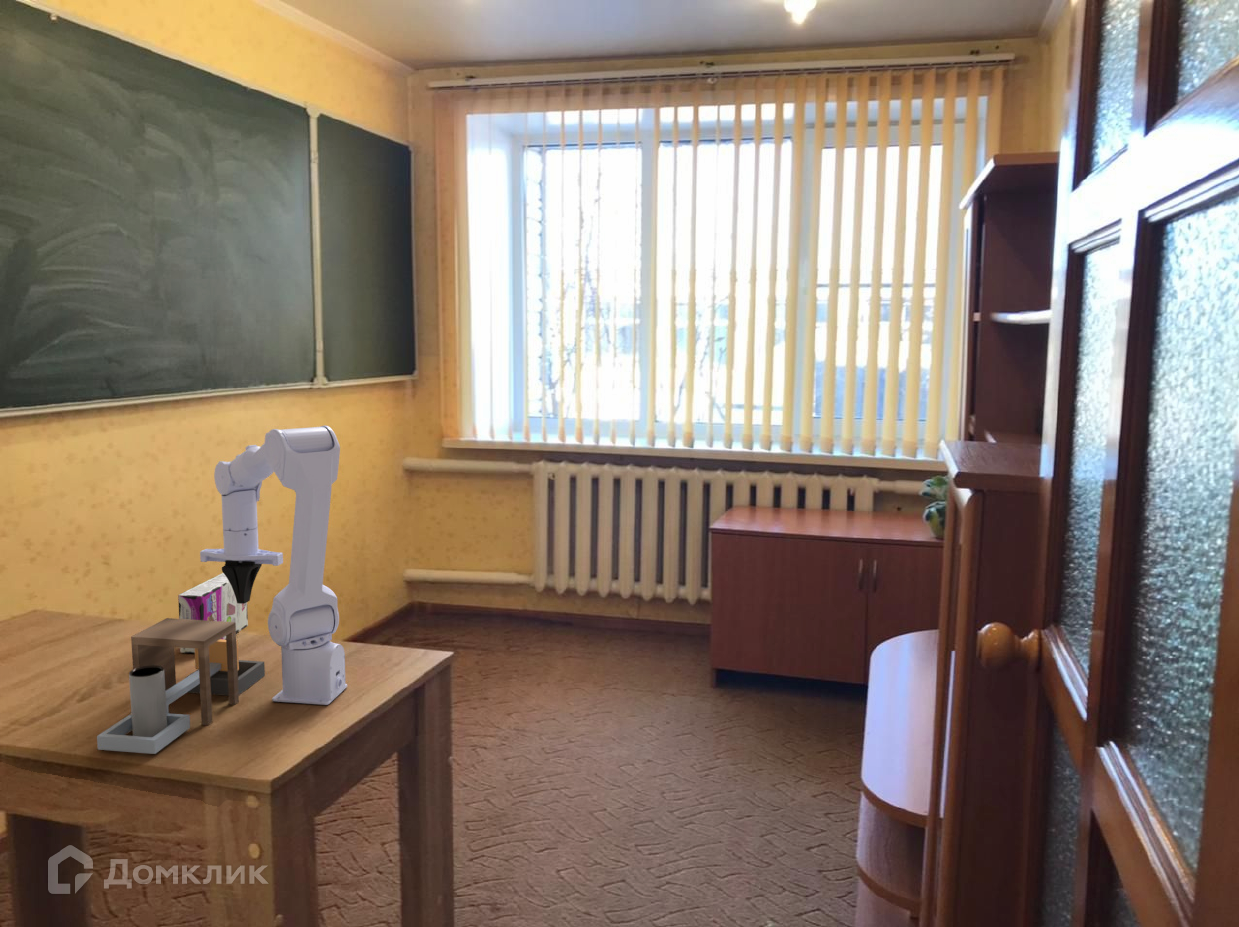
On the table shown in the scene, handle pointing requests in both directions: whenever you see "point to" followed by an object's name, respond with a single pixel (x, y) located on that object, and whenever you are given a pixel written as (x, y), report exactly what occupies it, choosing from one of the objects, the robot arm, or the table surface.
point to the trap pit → (246, 678)
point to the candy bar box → (212, 605)
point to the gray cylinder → (148, 700)
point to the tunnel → (186, 633)
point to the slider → (176, 723)
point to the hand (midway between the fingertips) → (243, 601)
